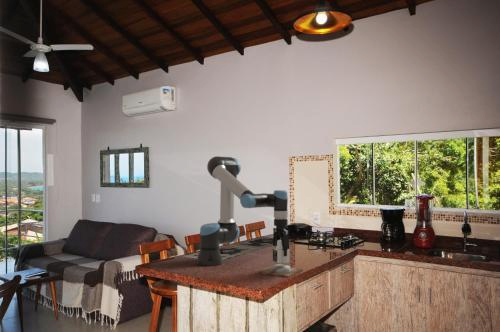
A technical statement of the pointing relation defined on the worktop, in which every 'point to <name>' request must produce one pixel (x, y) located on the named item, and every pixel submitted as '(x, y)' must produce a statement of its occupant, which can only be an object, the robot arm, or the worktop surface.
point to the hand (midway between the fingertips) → (280, 260)
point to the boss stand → (280, 270)
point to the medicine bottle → (279, 252)
